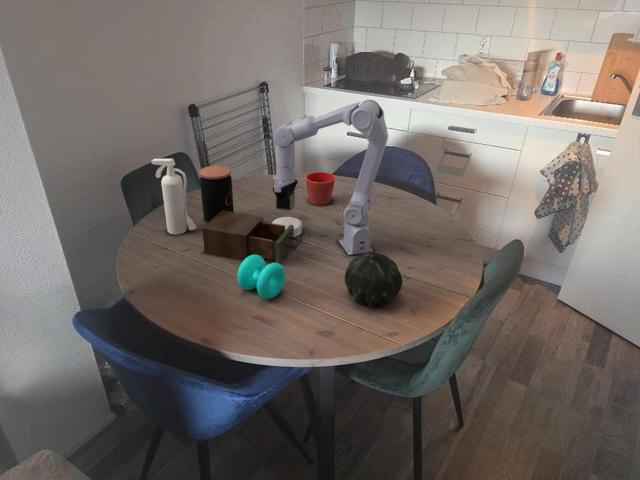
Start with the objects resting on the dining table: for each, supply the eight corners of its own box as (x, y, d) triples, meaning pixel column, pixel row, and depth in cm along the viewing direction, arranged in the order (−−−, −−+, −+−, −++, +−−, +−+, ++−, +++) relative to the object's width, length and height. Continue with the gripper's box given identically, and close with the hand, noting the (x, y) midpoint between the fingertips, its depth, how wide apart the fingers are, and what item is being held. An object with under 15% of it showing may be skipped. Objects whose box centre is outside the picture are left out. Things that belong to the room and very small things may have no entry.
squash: (390, 259, 140) (363, 230, 130) (421, 288, 128) (393, 259, 119) (354, 294, 142) (324, 268, 132) (381, 326, 130) (350, 300, 121)
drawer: (305, 246, 156) (306, 227, 152) (292, 265, 146) (292, 245, 142) (254, 237, 161) (253, 218, 158) (238, 255, 151) (237, 235, 148)
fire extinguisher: (192, 237, 163) (183, 164, 150) (159, 233, 166) (147, 161, 153) (200, 228, 169) (192, 157, 156) (168, 224, 172) (158, 154, 158)
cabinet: (264, 240, 161) (263, 216, 157) (247, 260, 150) (246, 235, 146) (224, 233, 166) (222, 210, 161) (204, 252, 155) (202, 228, 150)
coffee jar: (232, 226, 170) (229, 176, 160) (201, 226, 170) (196, 176, 161) (235, 213, 179) (232, 165, 169) (206, 213, 179) (201, 165, 170)
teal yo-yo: (260, 278, 142) (259, 247, 137) (287, 290, 137) (287, 259, 131) (236, 293, 136) (234, 262, 130) (263, 307, 130) (262, 274, 125)
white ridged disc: (267, 236, 163) (267, 227, 162) (277, 223, 171) (276, 214, 170) (297, 240, 161) (297, 231, 159) (305, 227, 169) (305, 218, 167)
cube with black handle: (294, 206, 161) (295, 190, 158) (290, 211, 158) (290, 195, 155) (280, 203, 163) (280, 188, 160) (275, 208, 159) (275, 193, 156)
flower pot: (324, 209, 181) (325, 184, 176) (299, 202, 187) (299, 177, 182) (339, 200, 188) (340, 175, 183) (315, 193, 194) (316, 169, 189)
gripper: (281, 155, 160) (281, 195, 167) (264, 170, 148) (265, 212, 155) (302, 158, 157) (301, 197, 165) (286, 173, 146) (286, 215, 153)
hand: (285, 205), depth 160 cm, fingers closed on cube with black handle, 4 cm apart
